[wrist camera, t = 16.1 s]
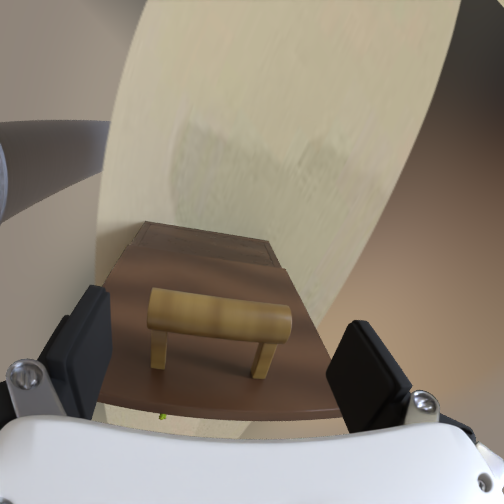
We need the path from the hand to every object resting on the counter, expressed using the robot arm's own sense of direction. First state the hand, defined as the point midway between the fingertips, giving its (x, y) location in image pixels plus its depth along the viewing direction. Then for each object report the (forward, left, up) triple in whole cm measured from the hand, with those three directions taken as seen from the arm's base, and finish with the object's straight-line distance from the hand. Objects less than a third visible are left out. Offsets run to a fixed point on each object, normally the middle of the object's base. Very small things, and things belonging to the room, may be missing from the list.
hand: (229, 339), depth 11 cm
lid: (-2, -4, -8) cm, 9 cm away
